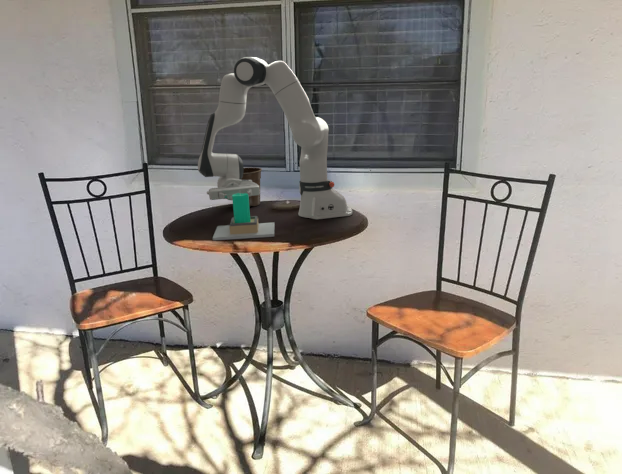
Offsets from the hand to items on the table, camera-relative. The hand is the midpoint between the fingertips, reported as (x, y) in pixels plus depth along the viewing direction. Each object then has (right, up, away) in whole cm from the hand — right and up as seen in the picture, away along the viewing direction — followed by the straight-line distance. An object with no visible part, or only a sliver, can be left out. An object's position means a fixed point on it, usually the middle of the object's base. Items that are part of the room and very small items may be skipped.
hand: (237, 195), depth 195 cm
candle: (+3, -11, -7) cm, 13 cm away
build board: (+4, -14, -6) cm, 16 cm away
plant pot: (-1, -1, +38) cm, 38 cm away
